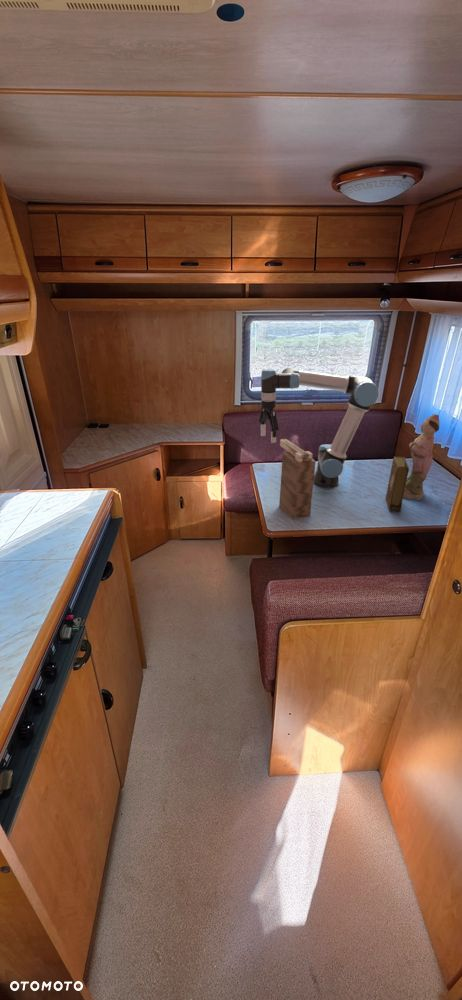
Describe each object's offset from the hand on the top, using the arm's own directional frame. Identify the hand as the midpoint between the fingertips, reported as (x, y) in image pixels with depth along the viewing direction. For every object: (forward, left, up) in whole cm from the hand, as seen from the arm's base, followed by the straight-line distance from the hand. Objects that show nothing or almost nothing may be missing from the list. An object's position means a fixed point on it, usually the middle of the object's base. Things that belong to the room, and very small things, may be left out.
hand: (268, 439), depth 234 cm
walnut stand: (-3, +30, -30) cm, 42 cm away
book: (-56, +41, -30) cm, 76 cm away
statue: (-75, +32, -30) cm, 87 cm away
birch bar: (-3, +24, 0) cm, 25 cm away
